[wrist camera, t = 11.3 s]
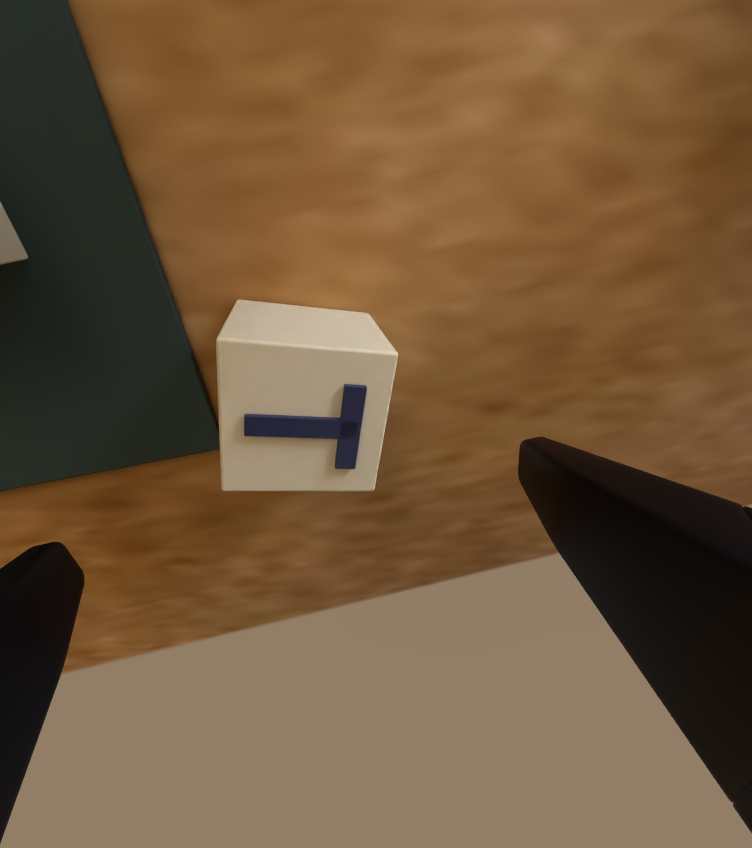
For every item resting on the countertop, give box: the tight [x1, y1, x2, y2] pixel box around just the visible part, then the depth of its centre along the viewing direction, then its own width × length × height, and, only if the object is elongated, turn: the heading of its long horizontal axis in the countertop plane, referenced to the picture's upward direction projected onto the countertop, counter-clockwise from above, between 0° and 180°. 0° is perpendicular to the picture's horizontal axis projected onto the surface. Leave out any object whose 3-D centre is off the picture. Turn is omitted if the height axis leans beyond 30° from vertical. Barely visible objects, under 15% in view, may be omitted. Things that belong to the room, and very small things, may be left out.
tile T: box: [216, 299, 398, 491], centre depth 13 cm, size 4×4×5 cm
